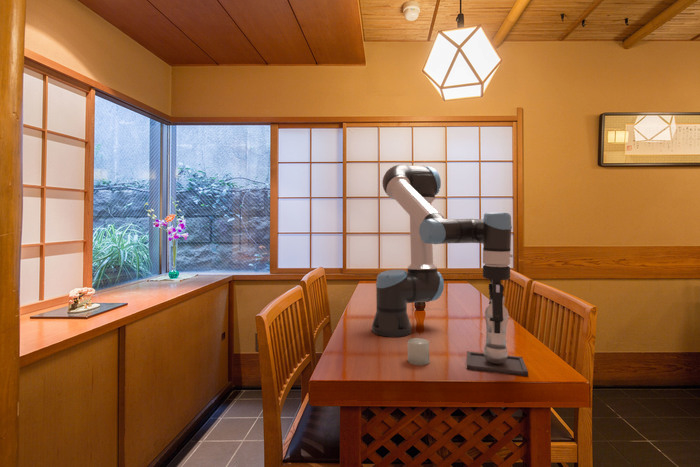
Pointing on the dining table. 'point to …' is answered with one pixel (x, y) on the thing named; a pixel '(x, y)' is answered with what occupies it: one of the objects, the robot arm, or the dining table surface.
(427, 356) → the white rounded cylinder
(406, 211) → the robot arm
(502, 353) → the plastic bottle
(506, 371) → the tray
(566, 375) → the dining table surface
